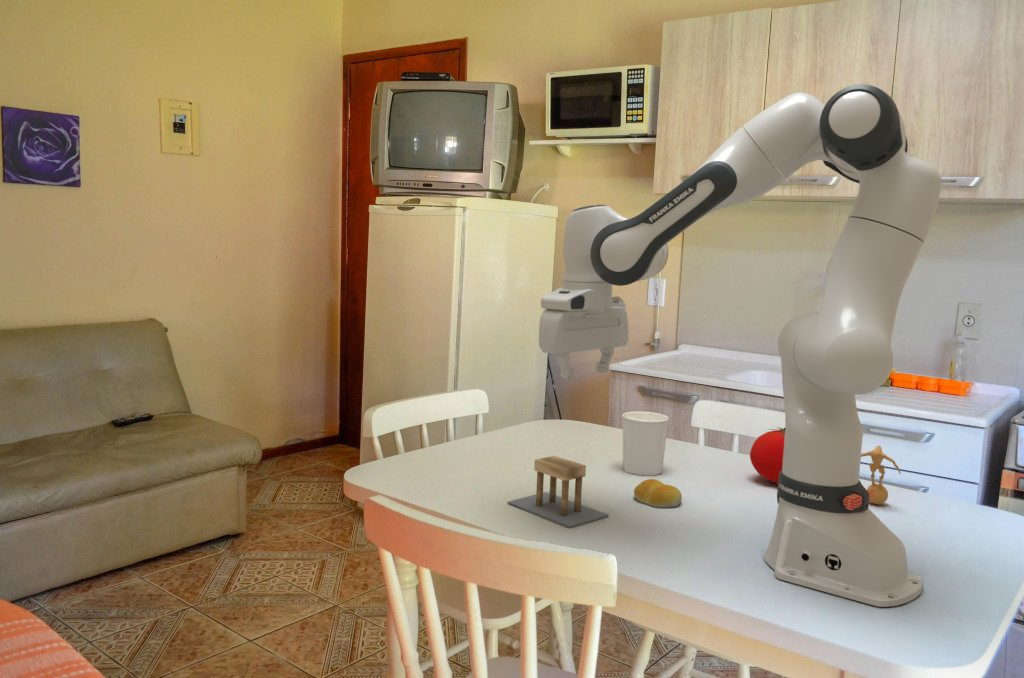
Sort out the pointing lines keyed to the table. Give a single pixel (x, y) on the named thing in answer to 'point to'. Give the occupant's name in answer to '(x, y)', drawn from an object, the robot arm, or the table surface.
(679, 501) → the bread roll
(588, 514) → the mat
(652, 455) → the candle holder
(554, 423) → the table surface
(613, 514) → the table surface
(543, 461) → the stool
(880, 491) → the figurine
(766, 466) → the tomato
